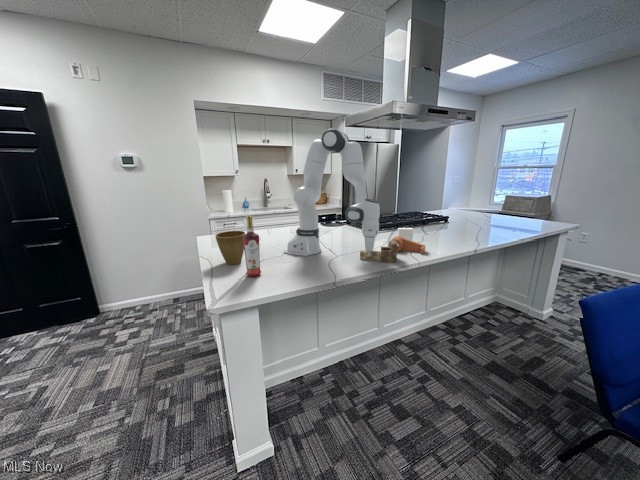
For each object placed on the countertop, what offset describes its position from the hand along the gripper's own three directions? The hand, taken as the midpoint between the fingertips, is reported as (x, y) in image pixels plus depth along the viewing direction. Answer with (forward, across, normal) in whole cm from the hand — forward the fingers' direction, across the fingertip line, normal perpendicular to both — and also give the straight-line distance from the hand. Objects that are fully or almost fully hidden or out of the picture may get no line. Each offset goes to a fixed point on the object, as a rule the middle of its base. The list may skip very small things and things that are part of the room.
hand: (369, 254), depth 143 cm
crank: (+3, -17, +21) cm, 27 cm away
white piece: (+2, -26, +20) cm, 33 cm away
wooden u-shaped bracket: (+2, 0, +10) cm, 10 cm away
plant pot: (+3, +20, -71) cm, 74 cm away
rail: (+2, 0, +2) cm, 3 cm away
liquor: (+3, +34, -52) cm, 62 cm away
